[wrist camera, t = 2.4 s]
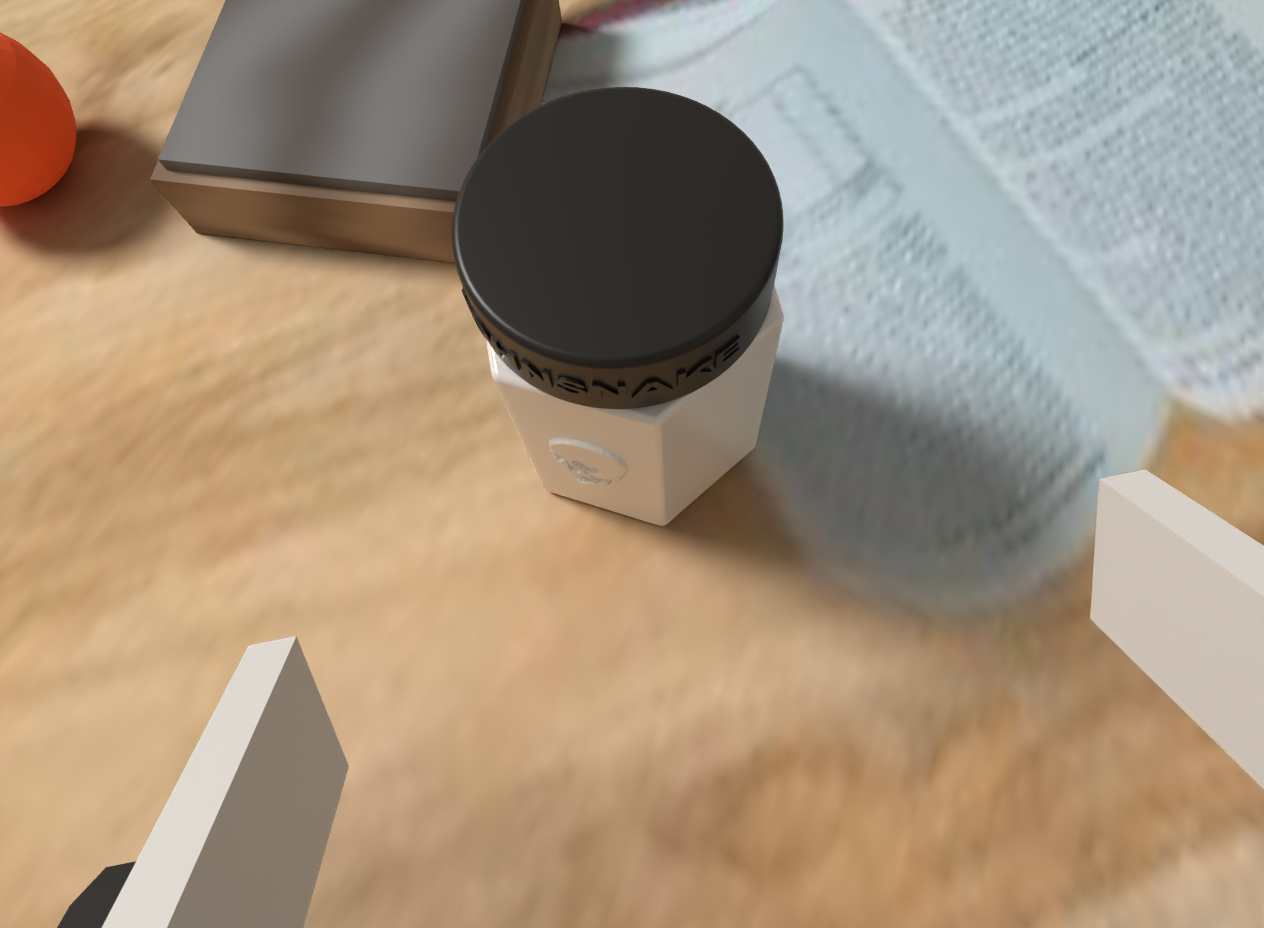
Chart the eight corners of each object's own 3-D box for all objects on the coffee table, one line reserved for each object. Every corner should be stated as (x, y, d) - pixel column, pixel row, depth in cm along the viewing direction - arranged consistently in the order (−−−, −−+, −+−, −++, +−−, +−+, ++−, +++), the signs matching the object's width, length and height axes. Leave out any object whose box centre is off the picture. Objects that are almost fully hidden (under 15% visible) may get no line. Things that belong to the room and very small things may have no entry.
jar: (485, 479, 32) (378, 310, 20) (563, 293, 34) (505, 51, 23) (722, 553, 30) (748, 414, 19) (784, 352, 33) (839, 126, 21)
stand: (561, 21, 39) (549, -60, 35) (500, 267, 35) (478, 205, 31) (289, -2, 40) (249, -82, 37) (196, 233, 36) (140, 168, 32)
